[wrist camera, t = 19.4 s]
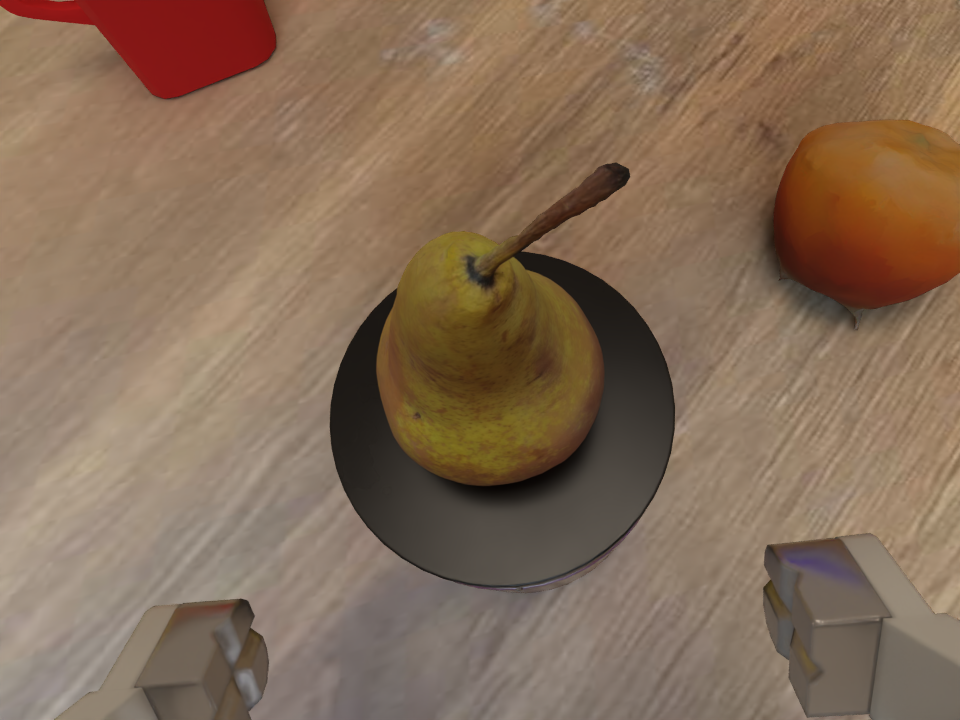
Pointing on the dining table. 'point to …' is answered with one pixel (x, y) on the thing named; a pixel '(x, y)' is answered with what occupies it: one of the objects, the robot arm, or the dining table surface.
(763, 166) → the dining table surface
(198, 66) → the mug
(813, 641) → the robot arm
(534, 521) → the jar lid
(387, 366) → the fruit
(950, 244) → the fruit
